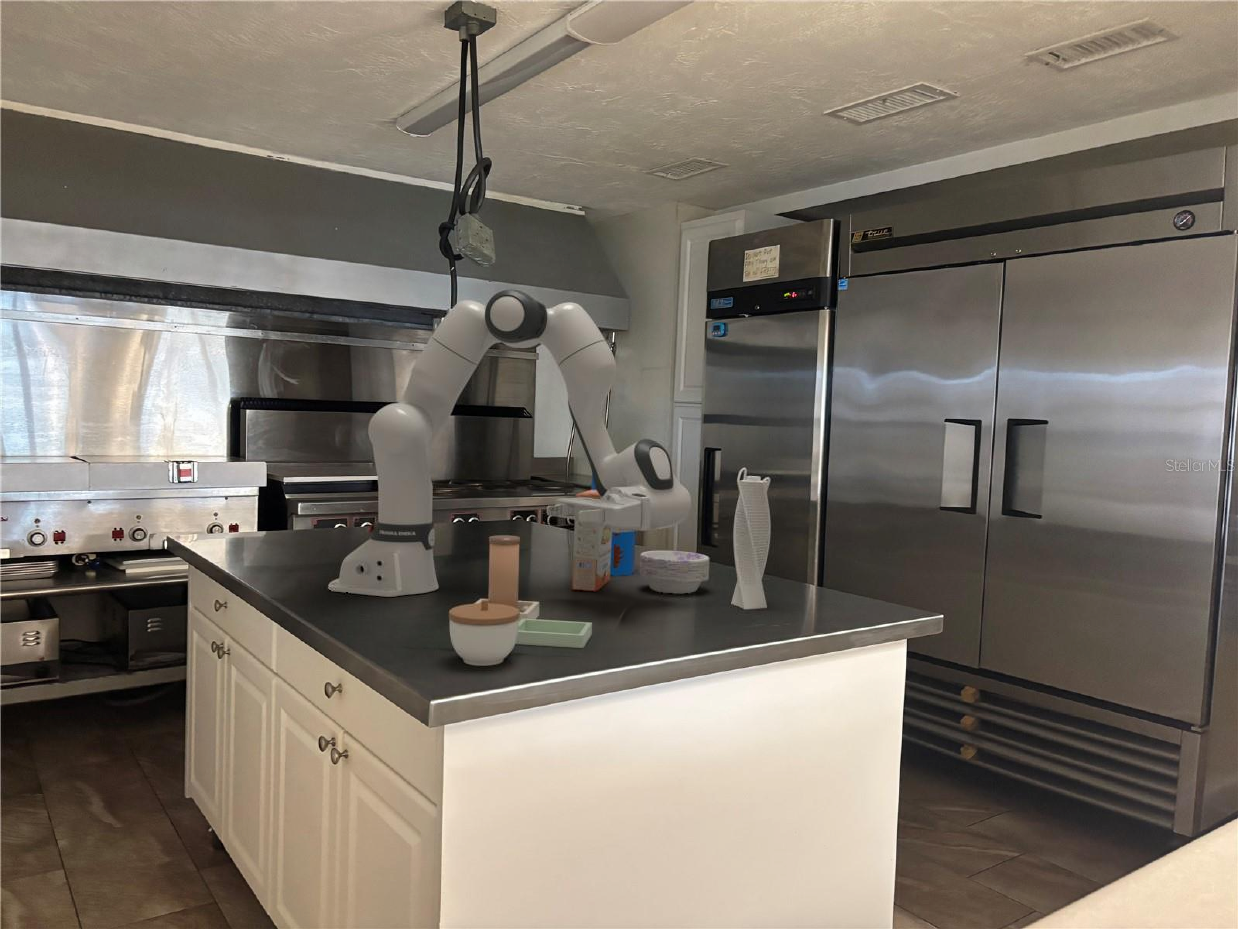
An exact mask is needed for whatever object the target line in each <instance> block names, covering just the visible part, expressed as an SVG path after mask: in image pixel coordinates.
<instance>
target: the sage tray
mask: <svg viewBox="0 0 1238 929" xmlns="http://www.w3.org/2000/svg"><path fill="white" fill-rule="evenodd" d="M592 628H593V622H588V621H585V622H584V621H571V620H570V621H569V620H553V619H552V620H551V619H537V618H536V619H521V620H520V621H519V627H518V635H517V639H516V643H515V645H525V646H539V647H541V646H542V647H557V648H571V649H573V648H574V649H584V648H585V646H586V644H587V643H588V641H589V639H590V638H591V636H592V633H593V629H592Z"/></svg>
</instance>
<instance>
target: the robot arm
mask: <svg viewBox="0 0 1238 929" xmlns="http://www.w3.org/2000/svg"><path fill="white" fill-rule="evenodd" d="M494 344H500V345H503V346H508V347H509V348H515V349H516V350H517V349H518V350H523V351H524V350H527V351H528V350H532V349H536V348H539V346H541V345H543V346H544V347H546V349H547V350H548V351H549V352H550V354H551V356H552V358H553V360H554V362H555V363H556V365H557V367H558V369H559V371H560V372H561V375H562V377H563V380H564V384H565V387H566V391H567V397H568V399H567V405H568V410H569V413H570V416H571V419H572V422H573V424H574V427H575V430H576V432H577V435H578V437H579V440H580V442H581V444H582V448H583V450H584V452H585V455H586V458H587V460H588V462H589V466H590V469H591V476H592V475H593V480H594V484H595V487H596V490H597V492H598V493H599V495H600V496H601V497H602V498H601V500H600V499H593V498H576V497H561V498H557V499H556V500H555V505H548V506H547V507H546V515H547V516H550V517H559V518H565V519H570V520H574V521H575V520H578V521H586V522H592V523H597V524H603V525H605V526H607V528H608V529H609V530H610V531H612V532H615V533H620V532H631V531H635V532H638V531H639V532H646V531H650V530H652V531H653V530H661V529H668V528H671V527H675V526H678V525H680V524H681V523H683V522H684V521H685V520H686V519H687V518H688V516H689V514H690V511H691V509H692V497H691V494H690V492H689V491H688V489H687V488H686V487H685V486H683V485H682V483H680V481H679V480H678V479H677V478H678V477H676V475H675V473H674V470H673V465H672V461H671V458H670V454H669V452H668V450H667V449H666V448H665V447H664V446H663V445H662V444H660V443H659V442H657V441H655V440H653V439H650V438H644V439H640V440H639V441H637V442H635V443H633V444H632V445H630V446H628V447H627V448H625V449H624V450H623V451H621V452H620V453H617V452H616V449H615V448H614V444H613V441H612V440H611V437H610V435H609V433H608V429H607V427H606V425H605V422H604V417H603V410H604V405H605V402H606V399H607V397H608V395H609V393H610V391H611V389H612V387H613V386H614V384H615V381H616V377H617V370H618V369H617V368H618V366H617V362H616V359H615V356H614V354H613V352H612V350H611V348H610V346H609V345H608V342H607V340H606V339H605V337H604V335H603V334H602V332H601V331H600V329H599V327H598V326H597V324H596V323H595V322H594V320H593V318H591V316H590V314H588V313H587V311H586V310H585V309H584V308H583V307H582V306H581V305H580V304H579V303H575V302H571V301H570V302H569V301H568V302H563V303H559V304H557V305H555V306H553V307H550V308H546V305H545V304H543V303H542V302H540V301H539V300H537V299H536V298H535V297H534V296H532V295H529V294H527V293H526V292H523V291H521V290H517V289H504V290H501V291H498V292H496V294H494V295H493V296H491V298H490V299H489V300H488V302H487V303H486V305H484V304H482V303H481V302H478V301H475V300H471V299H470V300H469V299H464V300H461V301H458V302H456V304H455V305H454V306H453V307H452V309H450V311H449V312H448V313H447V314H446V315H445V316H444V318H443V319H442V320H441V322H439V324H438V326H437V327H436V328H435V330H434V332H433V334H432V335H431V337H430V338H429V340H428V342H427V343H426V345H425V347H424V348H423V350H422V352H421V353H420V355H419V356H418V357H417V360H416V361H415V363H414V365H413V366H412V369H411V373H410V376H409V379H408V383H407V385H406V387H405V390H404V393H403V394H402V397H401V398H400V400H399V402H395V403H390V404H387V405H385V406H383V407H382V408H380V409H379V410H378V411H377V412H376V413H374V415H373V416H372V417H371V419H370V421H369V424H368V428H367V433H368V438H369V441H370V442H371V444H372V452H373V457H374V463H375V464H374V465H375V470H376V475H377V476H376V477H377V485H378V486H377V487H378V497H377V498H378V503H377V504H378V505H377V506H378V510H377V512H378V520H377V521H374V523H372V524H371V525H369V526H367V527H366V533H369V539H368V540H367V541H366V540H365V542H364V543H362V544H361V545H360V546H359V547H357V548H355V550H353V551H352V552H350V553H348V555H347V556H346V557H345V558H343V561H342V562H341V566H340V570H339V577H338V578H336V579H333V580H332V581H330V582H329V584H328V585H327V590H328V589H329V590H331V591H330V592H338V593H339V592H340V593H346V592H348V593H347V594H349V593H350V594H357V595H367V596H378V597H385V598H386V597H388V598H391V597H398V596H405V595H417V594H425V593H429V592H434V591H436V590H438V589H439V587H440V586H439V583H438V579H437V574H436V569H435V560H434V553H433V552H434V550H433V549H434V545H435V536H436V535H435V523H434V521H433V487H434V485H433V482H432V480H431V479H432V478H431V475H430V468H429V461H428V452H429V451H431V450H432V449H433V448H434V447H435V445H437V443H438V442H439V441H440V438H441V435H442V432H443V431H444V429H445V427H446V425H447V423H448V421H449V419H450V417H451V414H452V412H453V410H454V407H455V405H456V403H457V401H458V399H459V397H460V395H461V393H462V392H463V390H464V389H465V387H466V385H467V384H468V382H469V380H470V378H472V375H473V374H474V373H475V370H476V369H477V367H478V365H480V362H481V360H482V359H483V357H484V356H485V354H486V352H487V351H488V350H489V348H491V347H492V346H493V345H494ZM329 590H328V591H329Z"/></svg>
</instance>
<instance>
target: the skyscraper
mask: <svg viewBox="0 0 1238 929" xmlns="http://www.w3.org/2000/svg"><path fill="white" fill-rule="evenodd" d="M743 471H744V472H743ZM742 472H743V478H742V480H740V479H741V475H742ZM747 472H748V470H747V468H746V467H742V468H741V469H740V470H739V471H738V475H737V478H736V479H737V480H736V483H737V488H738V492H739V495H738V500H737V502H736V503H737V504H736V508H735V514H734V521H733V530H732V531H733V534H732V535H733V537H732V538H733V540H732V542H733V555H734V564H735V572H736V578H737V581H736V585H735V588H734V592H733V595H732V600H731V605H734V606H736V607H738V606H739V607H738V608H741V609H743V610H755V609H767V608H768V606H767V601H766V596H765V590H764V586H763V582H762V580H763V577H764V572H765V569H766V566H767V565H766V564H767V559H768V555H769V551H770V550H769V549H770V542H771V513H770V506H769V498H768V490H769V486H770V483H771V478H770V477H769V476H768V477H767V476H766V477H765V478H764V479H762V480H761V476H756V475H755V476H753V475H748V476H747Z"/></svg>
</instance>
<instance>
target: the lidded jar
mask: <svg viewBox="0 0 1238 929" xmlns="http://www.w3.org/2000/svg"><path fill="white" fill-rule="evenodd" d="M483 599H484V600H481V603H479V604H474V603H471V604H470V603H468V604H462V605H458V606H455V607H452V608H451V609H450V610H448V611H449V612H448V619H449V635H450V641H451V645H452V647H453V649H454V650H455V652H456V654H458V656H459V657H460V658H462V659H463V663H465V664H467V665H471V666H478V667H485V666H486V667H487V666H488V667H489V666H495V665H499V664H501V663H503V662H504V659H505V658H506V657H508V656H509V654H511V652H512V651H513V649H514V647H515V646H516V644H515V643H516V639H517V635H518V627H519V617H520V611H519V610H518V609H517V608H515V607H512V606H508V605H503V604H491V603H488V600H486V599H487V598H483Z"/></svg>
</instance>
